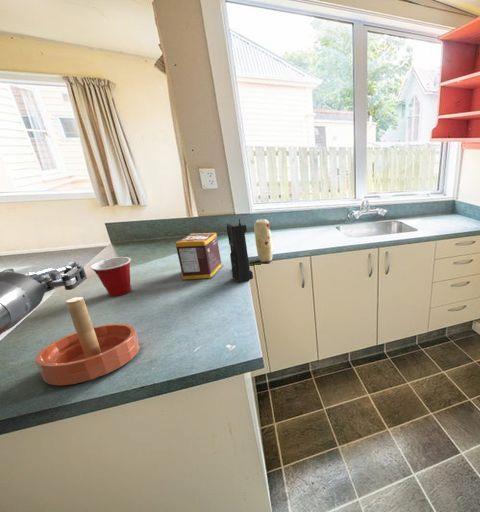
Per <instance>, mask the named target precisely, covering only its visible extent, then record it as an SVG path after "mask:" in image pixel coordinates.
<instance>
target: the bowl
mask: <svg viewBox="0 0 480 512" xmlns="http://www.w3.org/2000/svg"><path fill="white" fill-rule="evenodd" d="M93 328H94V331H95V334H96V337H97V340H98V343H99V346H100V349H101V352H102V353H101V354H98V355H95V356H92V357H89V358H85V355H84V352H83V349H82V346H81V344H80V341H79V338H78V335H77V332H76V331H75V332H72V333H70V334H68V335H65V336H63V337H61V338H58V339H57V340H55V341H53V342H51V343H50V344H48V345H46V346H45V347H43V348H42V349H40V351H39V352H38V353H37V354H36V356H35V361H34V362H35V364H36V366H37V367H36V368H37V369H38V371H39V373H40V376H41V378H42V381H43V382H45V383H46V384H47V385H52V386H68V385H76V384H79V383H84V382H88V381H91V380H94V379H97V378H99V377H102V376H105V375H107V374H109V373H111V372H113V371H115V370H117V369H120V368H121V367H123V366H124V365H126V364H127V363H128V362H130V361H132V360H133V359H134V358H135V356H136V355H137V354H138V353H139V351H140V348H141V346H140V342H139V339H138V335H137V332H136V329H135V327H134V326H133V325H131V324H127V323H110V324H102V325H98V326H93Z"/></svg>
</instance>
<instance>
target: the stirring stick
mask: <svg viewBox="0 0 480 512" xmlns="http://www.w3.org/2000/svg"><path fill="white" fill-rule="evenodd" d="M65 303H66V304H65V305H66V307H67V309H68V313H69V316H70V318H71V321H72V324H73V327H74V329H75V332H77V335H78V338H79V341H80V344H81V346H82V349H83V352H84V355H85V358H89V357H92V356H95V355H98V354H101V353H102V352H101V349H100V346H99V343H98V340H97V337H96V334H95V331H94V328H93V327H94V324H93V322H92V319H91V316H90V313H89V310H88V307H87V305H86V301H85V298H84V297H83V296H75V297H72V298H69V299H67V300H65Z"/></svg>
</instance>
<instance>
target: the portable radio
mask: <svg viewBox="0 0 480 512" xmlns="http://www.w3.org/2000/svg"><path fill="white" fill-rule="evenodd" d="M226 231H227V239H228V245H229V247H230V253H229V257H230V264H231V266H230V267H231V277H232V278H233V279H234V280H235V281H237V283H244V282H248V281H250V280H252V279H254V275H253V274H254V273H253V271H252V270H251V268H250V261H249V255H248V247H247V240H246V233H247V232H248V230H247V225H246V224H245V223H242V222H241V218H238V222H233V223H232V222H231V223H230V222H229V223H227V224H226Z"/></svg>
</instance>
